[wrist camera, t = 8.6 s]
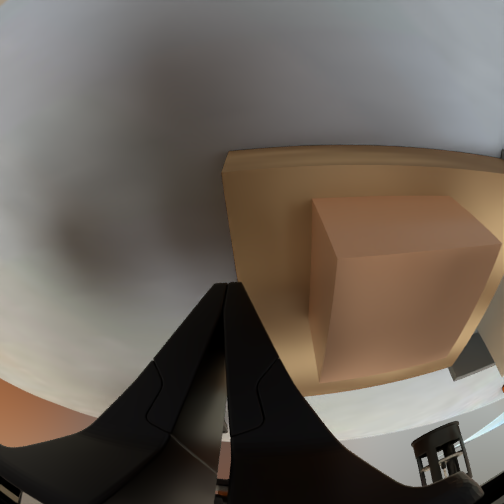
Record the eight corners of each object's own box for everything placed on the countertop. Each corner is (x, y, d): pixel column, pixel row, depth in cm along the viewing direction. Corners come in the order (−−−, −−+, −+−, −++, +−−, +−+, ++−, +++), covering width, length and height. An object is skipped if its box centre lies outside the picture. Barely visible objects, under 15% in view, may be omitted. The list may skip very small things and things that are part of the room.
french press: (400, 445, 34) (417, 555, 15) (448, 419, 29) (473, 537, 10) (426, 443, 37) (443, 535, 18) (466, 421, 33) (488, 517, 14)
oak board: (439, 338, 16) (451, 365, 14) (257, 365, 17) (258, 399, 15) (501, 158, 9) (534, 178, 7) (228, 151, 10) (221, 172, 8)
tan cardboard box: (418, 303, 11) (446, 357, 8) (308, 317, 11) (319, 383, 8) (449, 195, 8) (502, 243, 5) (312, 198, 8) (337, 258, 6)
